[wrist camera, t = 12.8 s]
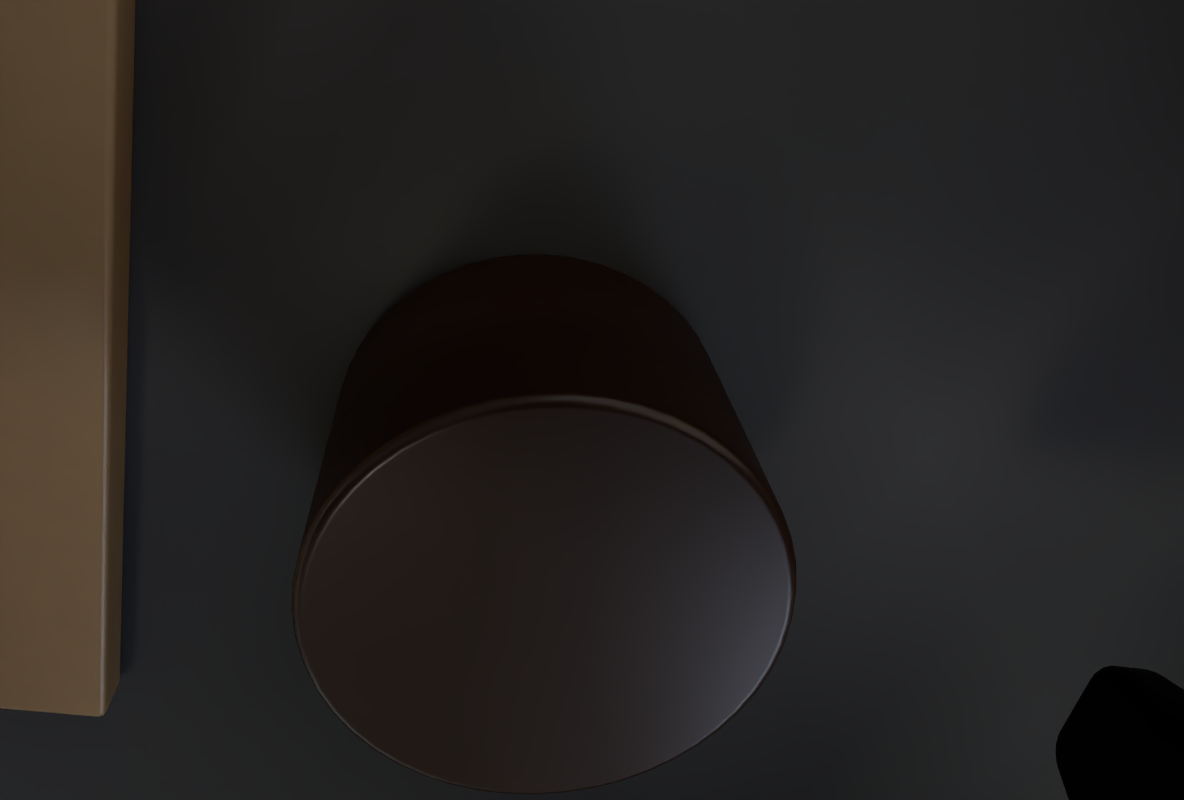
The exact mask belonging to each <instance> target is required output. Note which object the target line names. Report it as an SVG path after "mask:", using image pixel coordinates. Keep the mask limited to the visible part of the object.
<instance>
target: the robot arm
mask: <svg viewBox="0 0 1184 800" xmlns="http://www.w3.org/2000/svg"><path fill="white" fill-rule="evenodd" d="M1056 760H1057V765H1058V769H1059V772H1060V775H1061V778H1062V781H1063V784H1064V787H1065V790H1066V793H1067V796H1068V799H1069V800H1184V690H1183V689H1182V688H1180V687H1179V686H1177V685H1176V684H1174V683H1172V682H1171V681H1169V680H1168V679H1166V678H1165V677H1163V676H1161V675H1160V674H1158V673H1156V672H1153V671H1150V670H1145V669H1138V668H1129V667H1120V666H1108V667H1103V668H1102V669H1101V670H1099V671H1098V672H1096V673H1095V674H1094V675H1093V677H1092V678H1091V679H1090V681H1089V683H1088V685H1087V686H1086V688H1085V690H1084V691H1083V693H1082V695H1081V697H1080V698H1079V700H1078V702H1077V703H1076V705H1075V707H1074V709H1073V710H1072V712H1071V714H1070V715H1069V717H1068V719H1067V721H1066V722H1065V724H1064V726H1063V727H1062V729H1061V731H1060V733H1059V735H1058V739H1057V743H1056Z"/></svg>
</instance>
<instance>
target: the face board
mask: <svg viewBox="0 0 1184 800" xmlns="http://www.w3.org/2000/svg"><path fill="white" fill-rule="evenodd" d="M134 43H135V0H0V708H3V709H15V710H26V711H38V712H50V713H61V714H73V715H85V716H96V717H99V716H103V715H104V714H105V712H106V711H107V709H108V707H109V704H110V702H111V700H112V698H113V695H114V693H115V691H116V688H117V686H118V684H119V681H120V648H121V604H122V561H123V518H124V475H125V432H126V389H127V345H128V302H129V259H130V216H131V173H132V130H133V87H134Z"/></svg>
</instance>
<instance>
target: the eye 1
mask: <svg viewBox="0 0 1184 800" xmlns="http://www.w3.org/2000/svg"><path fill="white" fill-rule="evenodd" d="M795 595H796V560H795V554H794V548H793V542H792V537H791V535H790V532H789V529H788V526H787V523H786V520H785V517H784V515H783V512H782V510H781V508H780V506H779V504H778V501H777V499H776V497H775V495H774V493H773V491H772V489H771V487H770V485H769V482H768V480H767V478H766V476H765V474H764V472H763V470H762V468H761V465H760V463H759V461H758V459H757V457H756V455H755V453H754V451H753V449H752V446H751V444H750V442H749V440H748V438H747V436H746V434H745V432H744V430H743V427H742V425H741V423H740V421H739V419H738V417H737V415H736V413H735V410H734V408H733V406H732V404H731V402H730V400H729V398H728V396H727V394H726V391H725V389H724V387H723V385H722V383H721V381H720V379H719V377H718V375H717V372H716V370H715V368H714V366H713V364H712V362H711V360H710V358H709V356H708V354H707V352H706V350H705V348H704V347H703V345H702V343H701V341H700V339H699V337H698V336H697V335H696V333H695V332H694V331H693V329H692V328H691V327H690V325H689V324H688V323H687V321H686V320H685V319H684V318H683V317H682V316H681V315H680V314H679V313H678V312H677V311H676V310H675V309H674V308H673V307H672V306H671V305H670V304H669V303H668V302H667V301H666V300H665V299H663V298H662V297H661V296H659V295H658V294H657V293H655V292H654V291H653V290H651V289H650V288H649V287H647V286H645V285H644V284H642V283H640V282H638V281H636V280H635V279H633V278H631V277H629V276H627V275H626V274H623V273H621V272H618V271H616V270H613V269H611V268H608V267H606V266H603V265H600V264H597V263H593V262H589V261H585V260H581V259H577V258H571V257H562V256H554V255H515V256H507V257H500V258H492V259H488V260H484V261H481V262H477V263H473V264H469V265H465V266H463V267H460V268H458V269H455V270H453V271H450V272H448V273H445V274H443V275H440V276H438V277H437V278H435V279H433V280H431V281H430V282H428V283H426V284H424V285H422V286H421V287H419V288H417V289H416V290H414V291H413V292H412V293H410V294H409V295H408V296H406V297H405V298H404V299H402V300H401V301H400V302H398V303H397V304H396V305H394V306H393V307H392V308H391V309H390V310H389V311H388V312H387V313H386V314H385V315H384V316H383V317H382V318H381V319H380V320H379V321H378V322H377V323H376V325H375V326H374V327H373V329H372V330H371V331H370V333H369V334H368V335H367V337H366V338H365V339H364V341H363V342H362V343H361V345H360V347H359V349H358V351H357V352H356V354H355V356H354V358H353V360H352V361H351V363H350V366H349V368H348V371H347V374H346V376H345V379H344V382H343V384H342V388H341V391H340V395H339V399H338V403H337V407H336V411H335V415H334V419H333V422H332V426H331V430H330V434H329V438H328V442H327V446H326V450H325V453H324V457H323V461H322V465H321V469H320V473H319V477H318V481H317V485H316V488H315V492H314V496H313V500H312V504H311V508H310V512H309V516H308V519H307V523H306V527H305V531H304V535H303V539H302V543H301V547H300V550H299V554H298V559H297V564H296V569H295V573H294V578H293V583H292V617H293V624H294V631H295V638H296V641H297V644H298V647H299V650H300V653H301V657H302V660H303V663H304V665H305V667H306V669H307V671H308V673H309V675H310V677H311V679H312V681H313V683H314V685H315V687H316V689H317V691H318V692H319V694H320V695H321V697H322V698H323V699H324V701H325V702H326V704H327V705H328V706H329V708H330V709H331V711H332V712H333V713H334V714H335V715H336V716H337V717H338V718H339V719H340V720H341V721H342V722H343V724H344V725H345V726H346V727H347V728H348V729H349V730H350V731H351V732H352V733H354V734H355V735H356V736H357V737H359V738H360V739H361V740H363V741H364V742H365V743H366V744H368V745H369V746H370V747H371V748H373V749H374V750H376V751H378V752H379V753H381V754H382V755H384V756H386V757H387V758H389V759H391V760H392V761H394V762H396V763H398V764H400V765H402V766H404V767H406V768H409V769H411V770H413V771H415V772H417V773H419V774H422V775H425V776H428V777H431V778H433V779H436V780H439V781H442V782H445V783H448V784H453V785H457V786H462V787H466V788H471V789H475V790H482V791H490V792H498V793H509V794H546V793H563V792H569V791H576V790H582V789H589V788H594V787H598V786H602V785H606V784H610V783H614V782H618V781H622V780H625V779H627V778H630V777H633V776H636V775H639V774H642V773H645V772H647V771H650V770H652V769H654V768H656V767H658V766H660V765H663V764H665V763H667V762H669V761H671V760H673V759H675V758H677V757H679V756H680V755H682V754H684V753H685V752H687V751H689V750H691V749H692V748H694V747H696V746H697V745H699V744H700V743H702V742H703V741H704V740H706V739H707V738H708V737H710V736H711V735H712V734H714V733H715V732H717V731H718V730H719V729H721V728H722V727H723V726H724V725H725V724H726V723H727V722H728V721H729V720H730V719H731V718H732V717H734V716H735V715H736V714H737V713H738V712H739V711H740V710H741V709H742V708H743V707H744V705H745V704H746V703H747V702H748V701H749V700H750V698H751V697H752V696H753V695H754V694H755V693H756V691H757V690H758V689H759V687H760V686H761V684H762V683H763V681H764V680H765V678H766V677H767V675H768V674H769V672H770V671H771V669H772V668H773V666H774V664H775V662H776V659H777V657H778V655H779V653H780V651H781V649H782V647H783V645H784V642H785V639H786V636H787V632H788V629H789V626H790V623H791V619H792V614H793V608H794V601H795Z"/></svg>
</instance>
